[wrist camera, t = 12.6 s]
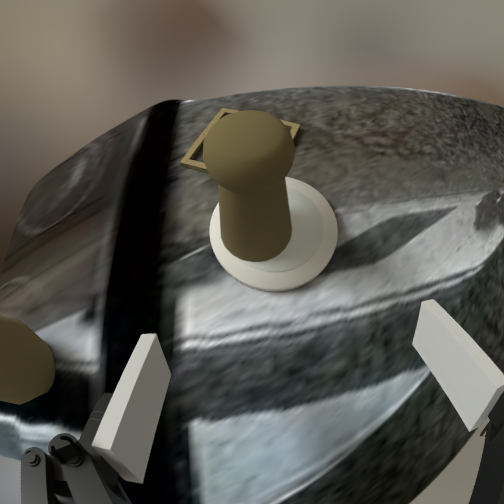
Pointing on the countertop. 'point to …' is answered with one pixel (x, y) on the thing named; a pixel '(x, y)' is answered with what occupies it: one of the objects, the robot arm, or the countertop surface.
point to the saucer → (297, 251)
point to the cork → (251, 182)
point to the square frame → (199, 142)
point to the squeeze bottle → (23, 363)
